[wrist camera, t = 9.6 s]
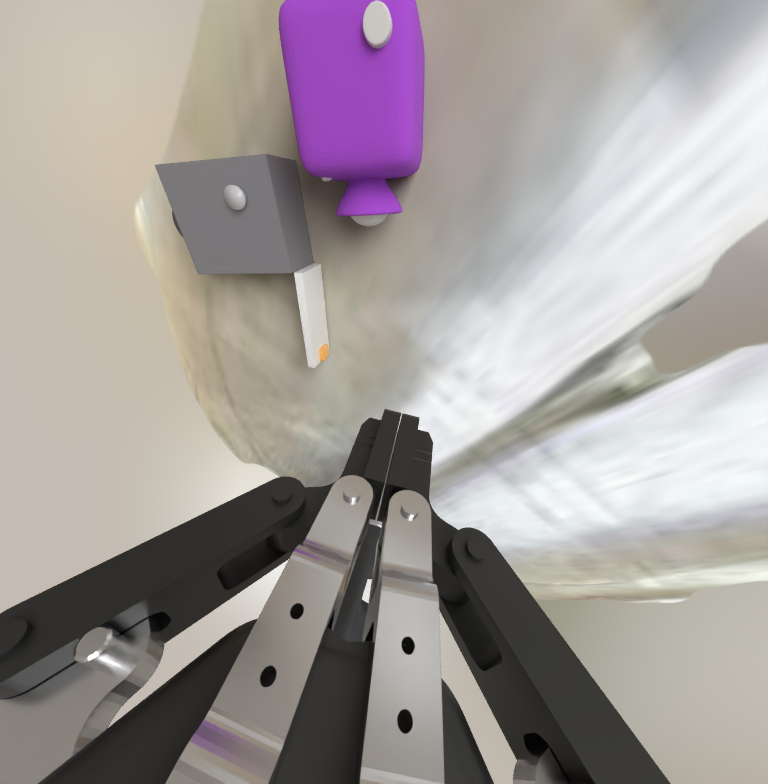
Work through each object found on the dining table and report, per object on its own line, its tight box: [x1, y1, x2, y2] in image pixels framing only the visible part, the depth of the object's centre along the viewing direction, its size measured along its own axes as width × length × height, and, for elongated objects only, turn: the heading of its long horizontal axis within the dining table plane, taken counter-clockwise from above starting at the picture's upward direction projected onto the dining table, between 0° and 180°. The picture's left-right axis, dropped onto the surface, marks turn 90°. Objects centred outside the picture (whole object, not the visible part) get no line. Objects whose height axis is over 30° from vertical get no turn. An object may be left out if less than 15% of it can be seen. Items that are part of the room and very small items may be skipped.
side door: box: [294, 263, 329, 368], centre depth 36 cm, size 2×12×5 cm, turn 179°
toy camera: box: [279, 0, 424, 226], centre depth 24 cm, size 11×14×10 cm
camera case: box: [155, 154, 314, 274], centre depth 31 cm, size 10×13×7 cm
